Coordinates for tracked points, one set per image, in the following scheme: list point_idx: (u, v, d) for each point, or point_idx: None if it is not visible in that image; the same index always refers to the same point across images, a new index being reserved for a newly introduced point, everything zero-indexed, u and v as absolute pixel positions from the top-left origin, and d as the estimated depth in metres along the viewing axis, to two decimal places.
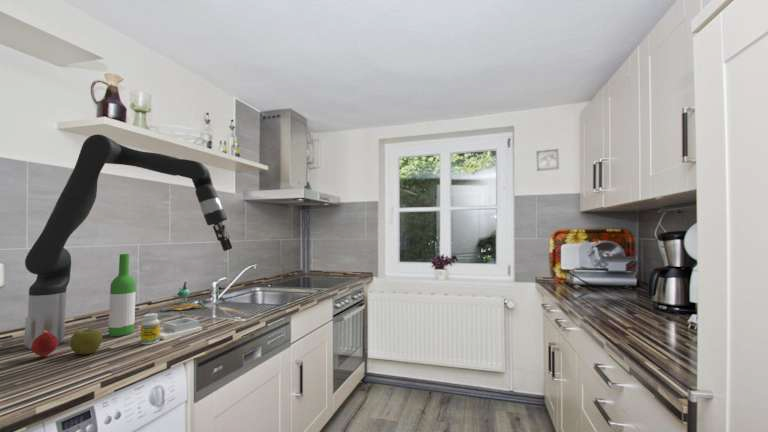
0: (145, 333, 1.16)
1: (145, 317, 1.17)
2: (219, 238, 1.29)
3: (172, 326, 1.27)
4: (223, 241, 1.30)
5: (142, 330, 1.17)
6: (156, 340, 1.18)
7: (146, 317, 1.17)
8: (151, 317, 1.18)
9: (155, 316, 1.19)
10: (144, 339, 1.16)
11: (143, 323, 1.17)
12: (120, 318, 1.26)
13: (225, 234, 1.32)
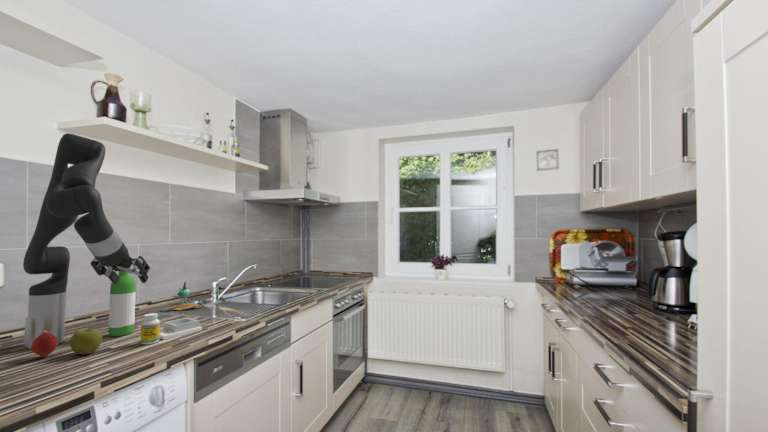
0: (145, 333, 1.16)
1: (145, 317, 1.17)
2: None
3: (172, 326, 1.27)
4: None
5: (142, 330, 1.17)
6: (156, 340, 1.18)
7: (146, 317, 1.17)
8: (151, 317, 1.18)
9: (155, 316, 1.19)
10: (144, 339, 1.16)
11: (143, 323, 1.17)
12: (120, 318, 1.26)
13: (107, 273, 1.04)
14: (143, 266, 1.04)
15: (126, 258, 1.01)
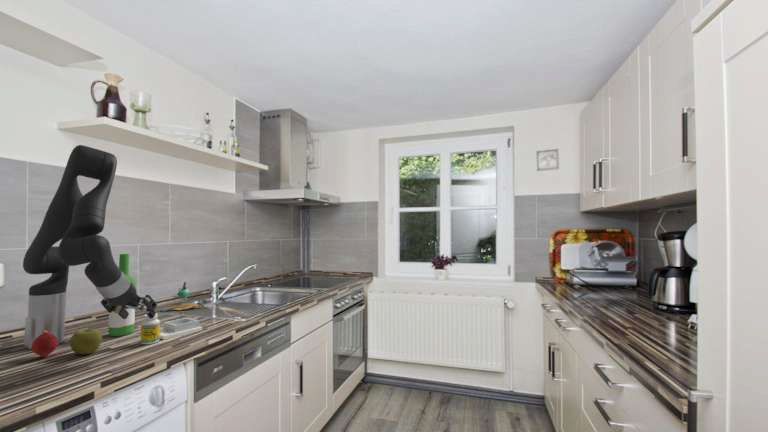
0: (145, 333, 1.16)
1: (145, 317, 1.17)
2: None
3: (172, 326, 1.27)
4: None
5: (142, 330, 1.17)
6: (156, 340, 1.18)
7: (146, 317, 1.17)
8: None
9: (155, 316, 1.19)
10: (144, 339, 1.16)
11: (143, 323, 1.17)
12: (120, 318, 1.26)
13: (116, 310, 1.08)
14: (150, 304, 1.08)
15: (134, 297, 1.05)
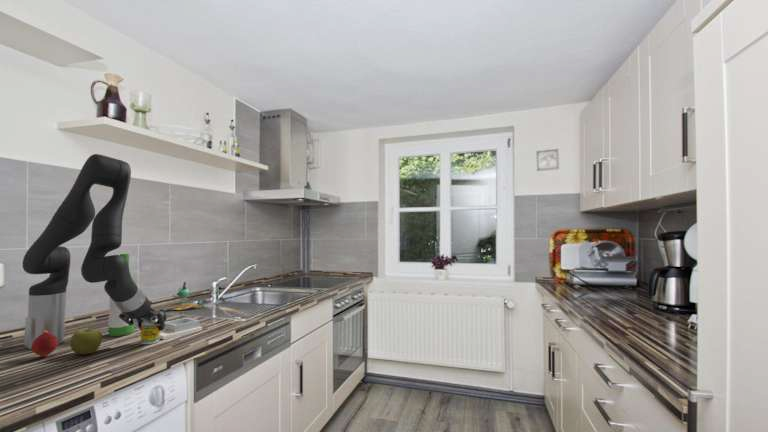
0: (145, 332, 1.16)
1: None
2: None
3: (172, 326, 1.27)
4: None
5: (142, 330, 1.17)
6: (156, 340, 1.18)
7: None
8: None
9: None
10: (144, 339, 1.16)
11: (143, 323, 1.17)
12: (120, 318, 1.26)
13: (135, 323, 1.16)
14: (163, 318, 1.16)
15: (149, 311, 1.12)
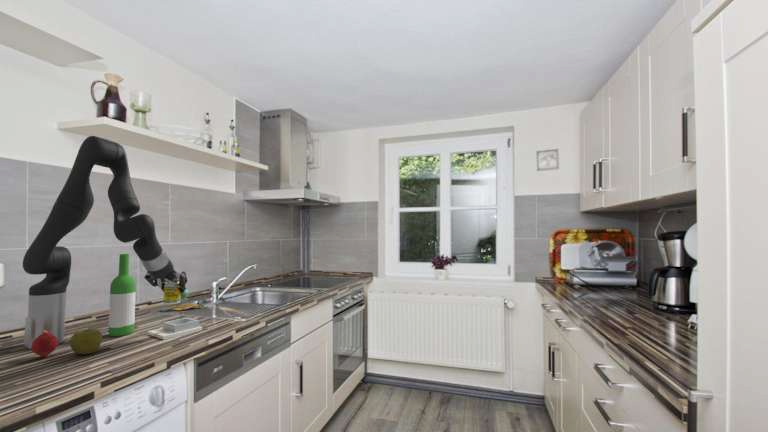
0: (168, 293, 1.25)
1: None
2: None
3: (172, 326, 1.27)
4: None
5: (165, 291, 1.26)
6: (177, 301, 1.27)
7: None
8: None
9: None
10: (166, 300, 1.25)
11: (166, 284, 1.26)
12: (120, 318, 1.26)
13: (159, 284, 1.25)
14: (184, 280, 1.25)
15: (172, 272, 1.22)
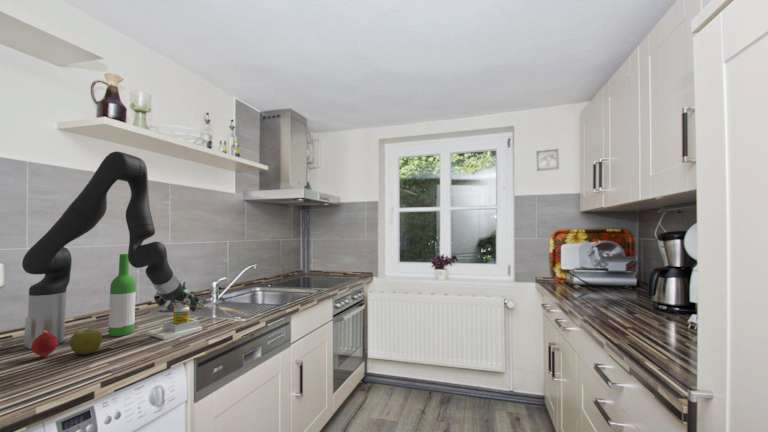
0: (177, 318, 1.30)
1: (177, 304, 1.31)
2: None
3: (172, 326, 1.27)
4: None
5: (174, 316, 1.30)
6: None
7: (178, 304, 1.31)
8: None
9: None
10: (176, 324, 1.30)
11: (176, 309, 1.31)
12: (120, 318, 1.26)
13: (166, 304, 1.29)
14: (194, 299, 1.29)
15: (182, 293, 1.26)
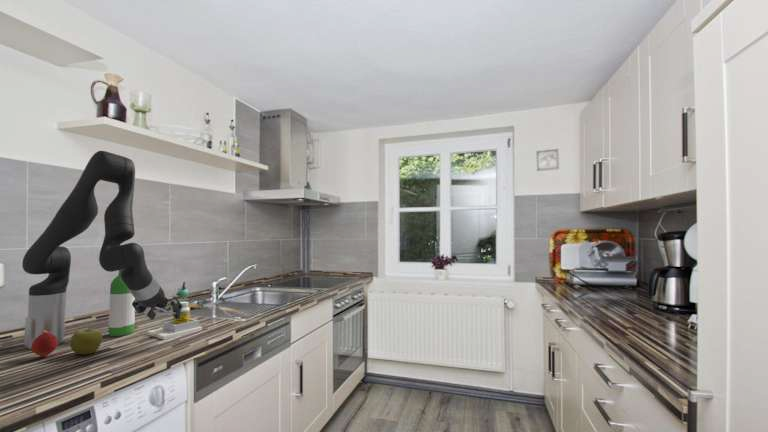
0: None
1: None
2: None
3: (172, 326, 1.27)
4: None
5: None
6: None
7: None
8: (183, 304, 1.32)
9: (186, 304, 1.33)
10: (176, 324, 1.30)
11: None
12: (120, 318, 1.26)
13: (146, 311, 1.17)
14: (177, 306, 1.17)
15: (163, 300, 1.14)
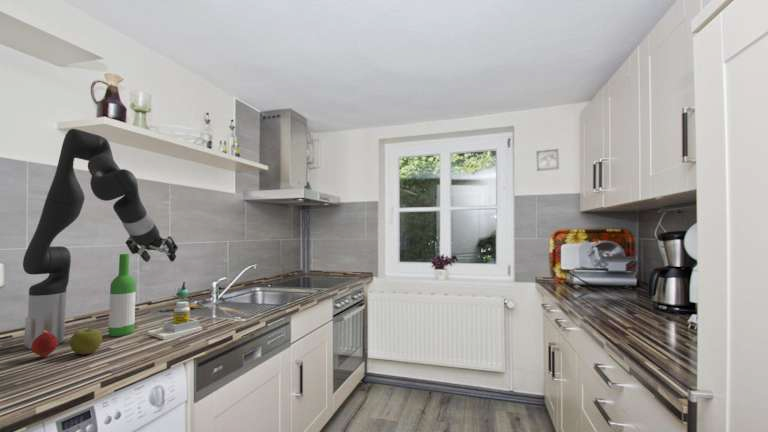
0: (178, 318, 1.30)
1: (178, 304, 1.31)
2: None
3: (172, 326, 1.27)
4: None
5: (175, 316, 1.30)
6: None
7: (179, 304, 1.31)
8: (183, 304, 1.32)
9: (186, 304, 1.33)
10: (176, 324, 1.30)
11: (176, 309, 1.31)
12: (120, 318, 1.26)
13: (140, 251, 1.14)
14: (172, 245, 1.14)
15: (157, 238, 1.12)
